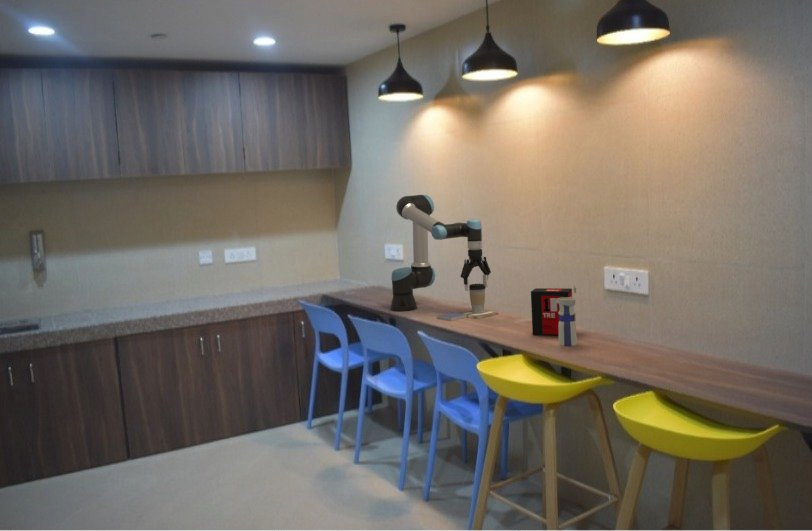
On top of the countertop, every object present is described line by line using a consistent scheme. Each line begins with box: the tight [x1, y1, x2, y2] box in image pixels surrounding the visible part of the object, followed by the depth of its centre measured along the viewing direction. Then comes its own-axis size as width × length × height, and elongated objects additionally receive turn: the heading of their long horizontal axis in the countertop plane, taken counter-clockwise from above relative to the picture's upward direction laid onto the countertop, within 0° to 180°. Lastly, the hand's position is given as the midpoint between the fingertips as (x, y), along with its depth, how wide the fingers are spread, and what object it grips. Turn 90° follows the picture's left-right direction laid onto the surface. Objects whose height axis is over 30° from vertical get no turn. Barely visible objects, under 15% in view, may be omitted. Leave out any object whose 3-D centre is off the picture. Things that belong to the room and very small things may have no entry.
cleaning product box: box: [530, 287, 573, 337], centre depth 311 cm, size 16×9×20 cm, turn 66°
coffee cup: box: [468, 283, 487, 314], centre depth 366 cm, size 9×9×15 cm
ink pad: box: [436, 312, 468, 322], centre depth 363 cm, size 11×11×2 cm
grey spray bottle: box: [557, 285, 578, 347], centre depth 290 cm, size 8×9×25 cm
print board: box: [460, 309, 499, 320], centre depth 366 cm, size 15×15×1 cm
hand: (476, 288), depth 365 cm, fingers open, 13 cm apart
